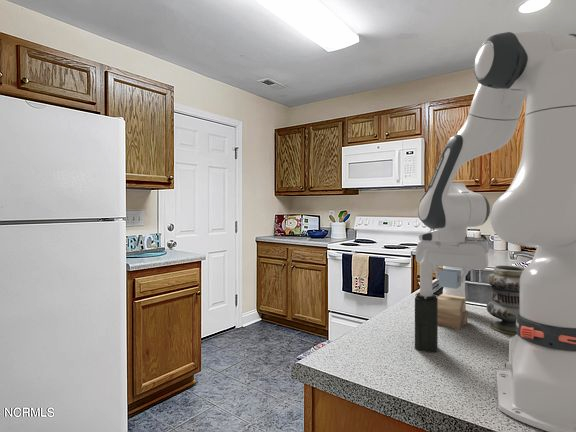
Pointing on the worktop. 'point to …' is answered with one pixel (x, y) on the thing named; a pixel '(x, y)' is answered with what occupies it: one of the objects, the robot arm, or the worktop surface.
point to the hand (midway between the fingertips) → (450, 280)
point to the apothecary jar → (505, 297)
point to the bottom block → (452, 320)
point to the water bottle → (452, 291)
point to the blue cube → (449, 278)
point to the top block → (451, 304)
